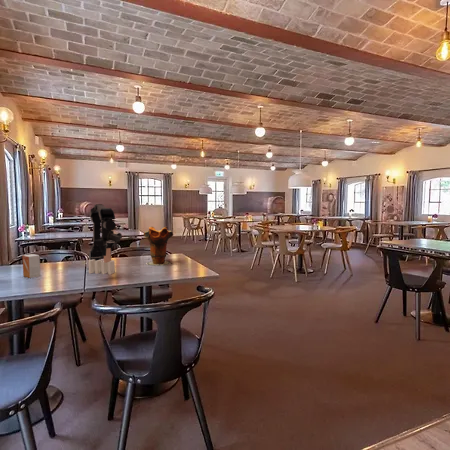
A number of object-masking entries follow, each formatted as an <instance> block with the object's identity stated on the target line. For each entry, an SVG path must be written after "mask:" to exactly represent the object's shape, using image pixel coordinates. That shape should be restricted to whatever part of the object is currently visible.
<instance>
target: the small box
mask: <svg viewBox="0 0 450 450" xmlns="http://www.w3.org/2000/svg"><path fill="white" fill-rule="evenodd" d="M21 256H22V274H23V277H25V278H28V279H32V278H37V277H41V264H40V263H41V262H40V261H41V259H40V255H39V254H34V253H32V254H31V253H30V254H29V253H28V254H23V255H21Z"/></svg>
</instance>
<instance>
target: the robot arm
mask: <svg viewBox="0 0 450 450" xmlns="http://www.w3.org/2000/svg"><path fill="white" fill-rule="evenodd" d="M115 215H116V214H115V212H114V210H113V209H112V208H110V207H106V206H105V205H104V204H103V203H101V204H100V203H99V204H94V206H93V207H92V208H91V209H90V211H89V217H90V221H91V222H92V224H93V226H92V229H93V231H92V237H93V238H92V245H91V246H90V250H89V253H88V259H89V261H90V260H93V259H94V260H95V261H97V260H102V259H103V260H104V256H106V248H111V253H112V252H113V248H114V246H115V244H117V243H118V242H119V243H120V242H121V239H123V236H122V233H121V232H118V233H114V230H115V229H116V226H117V224H116V222H115V221H114V220H115V219H116V216H115Z"/></svg>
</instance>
